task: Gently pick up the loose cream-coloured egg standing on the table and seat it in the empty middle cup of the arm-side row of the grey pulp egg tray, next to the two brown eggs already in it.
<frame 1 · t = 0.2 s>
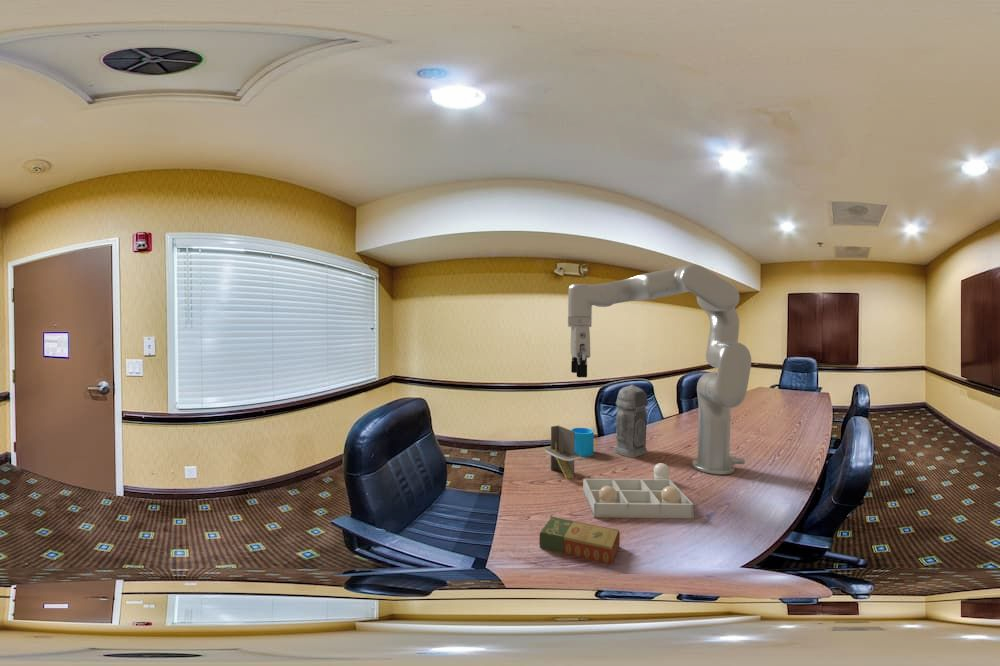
hand: (578, 374, 148), 31 cm above the table, fingers open, 9 cm apart
toy chair: (561, 475, 144), on the table
egg in carton 1: (670, 508, 119), point 1 cm above the table, touching egg tray
mug: (578, 454, 164), on the table
loose egg: (661, 481, 138), on the table
egg tray: (634, 503, 123), on the table
carton: (579, 549, 100), on the table
figurine: (629, 452, 166), on the table
egg in carton 2: (607, 507, 119), point 1 cm above the table, touching egg tray
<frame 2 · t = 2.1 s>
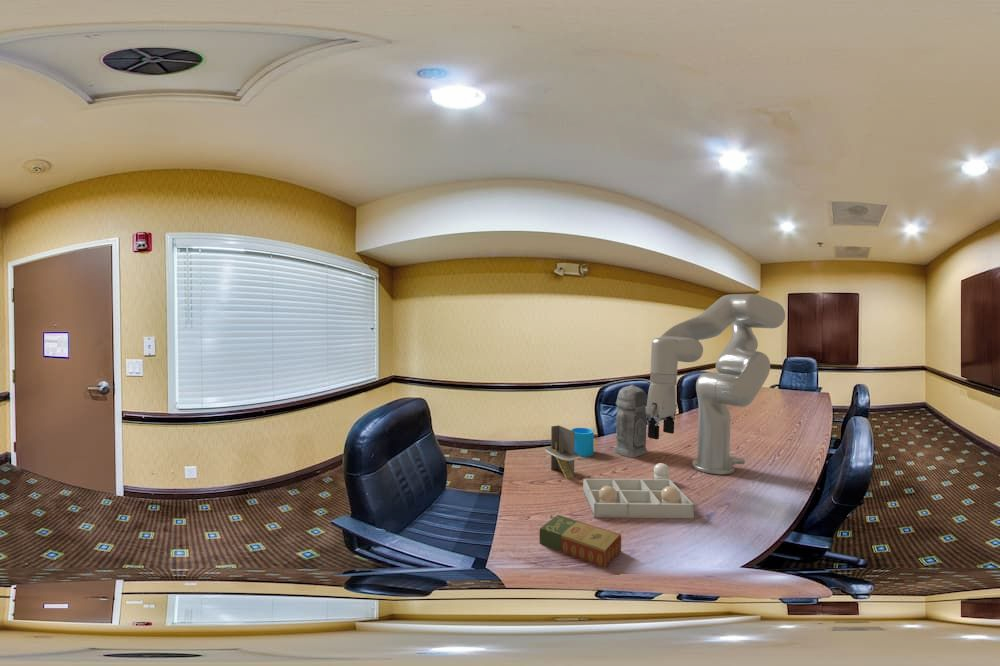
hand: (661, 435, 137), 14 cm above the table, fingers open, 9 cm apart
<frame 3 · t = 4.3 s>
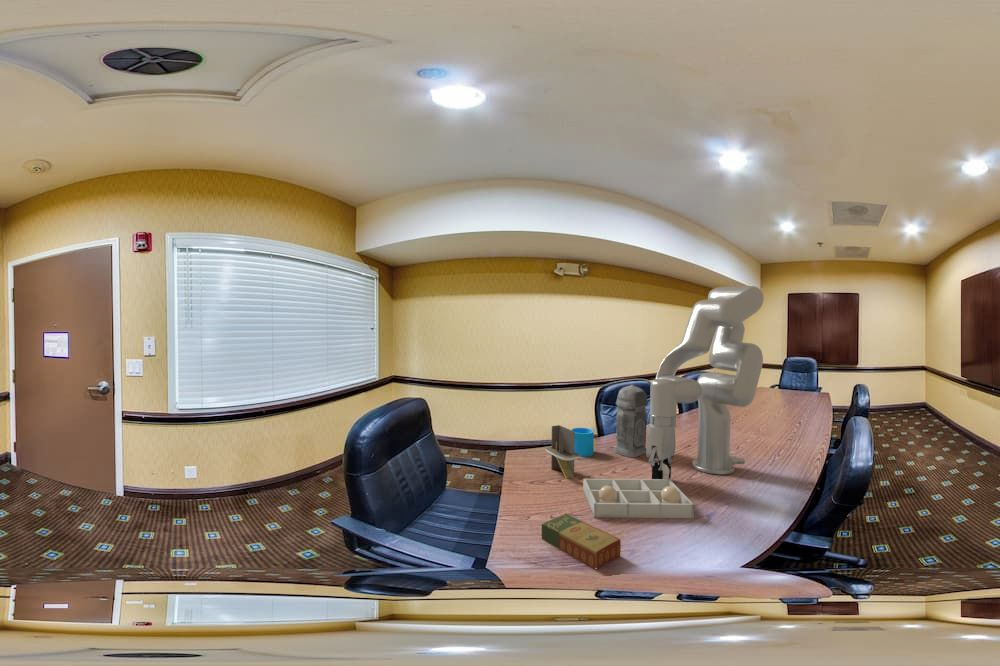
hand: (661, 479, 138), 1 cm above the table, fingers closed on loose egg, 4 cm apart
loose egg: (661, 481, 138), on the table, touching gripper
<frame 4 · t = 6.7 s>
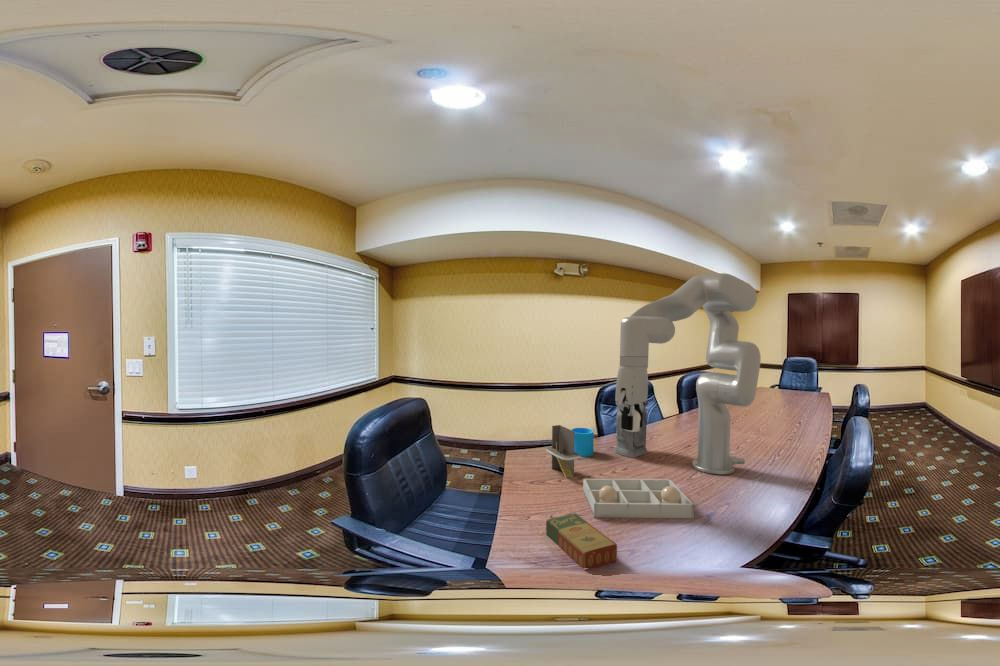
hand: (631, 427, 126), 20 cm above the table, fingers closed on loose egg, 4 cm apart
loose egg: (631, 429, 126), point 19 cm above the table, touching gripper
when the fingers open (4 cm above the table, at t = 9.5 s): loose egg drops 2 cm, resting on egg tray.
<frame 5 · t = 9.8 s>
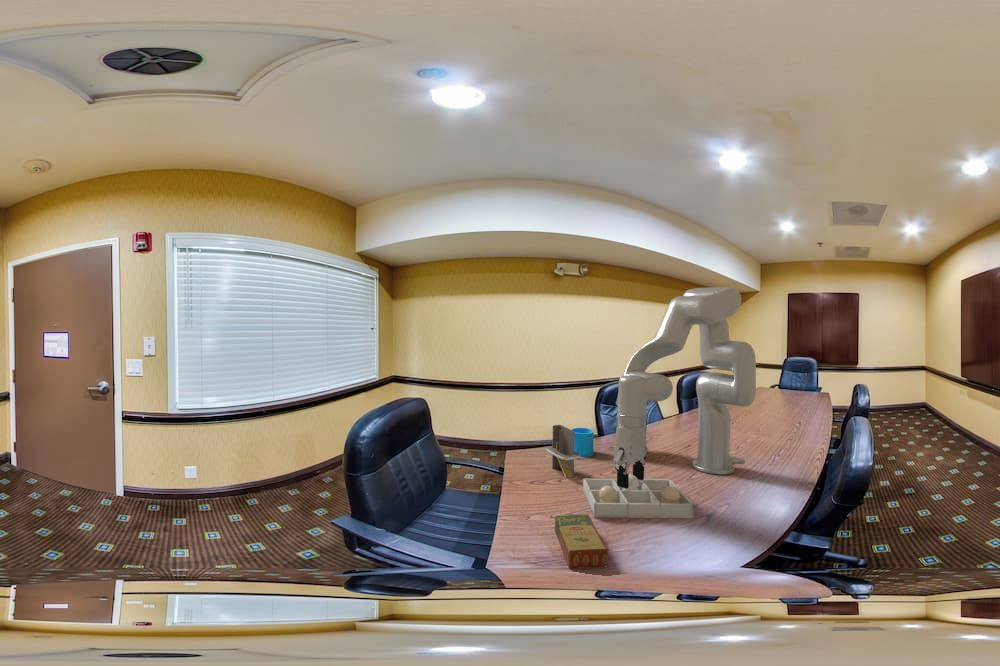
hand: (630, 482, 126), 4 cm above the table, fingers open, 7 cm apart
loose egg: (630, 495, 127), point 1 cm above the table, touching egg tray
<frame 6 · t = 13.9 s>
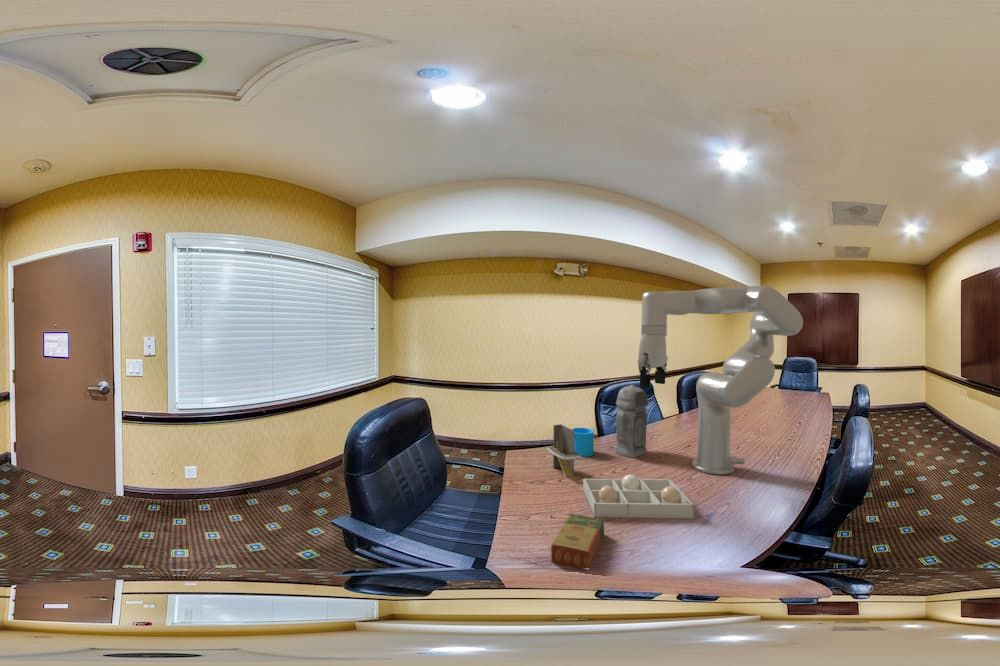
hand: (652, 385, 143), 28 cm above the table, fingers open, 9 cm apart
at the end: loose egg 0.0 cm from the target spot on the egg tray, point 0.6 cm above the egg tray's base; loose egg tilted 0°; the gripper is holding nothing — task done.
